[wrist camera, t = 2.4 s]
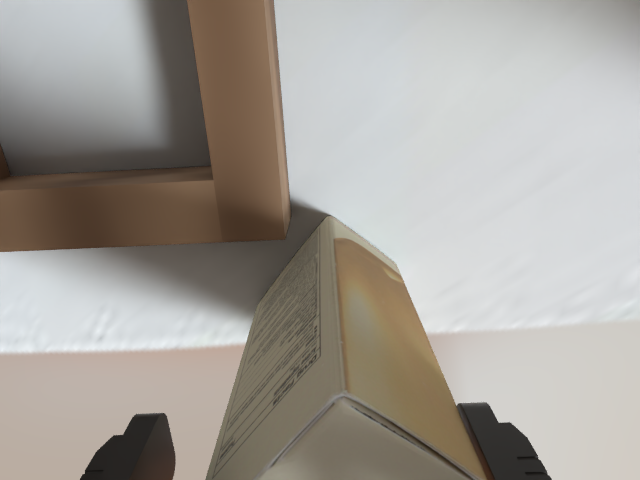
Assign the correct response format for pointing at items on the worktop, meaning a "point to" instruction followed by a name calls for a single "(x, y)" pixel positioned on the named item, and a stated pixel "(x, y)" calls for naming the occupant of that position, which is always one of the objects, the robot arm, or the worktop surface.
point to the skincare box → (341, 378)
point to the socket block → (185, 182)
